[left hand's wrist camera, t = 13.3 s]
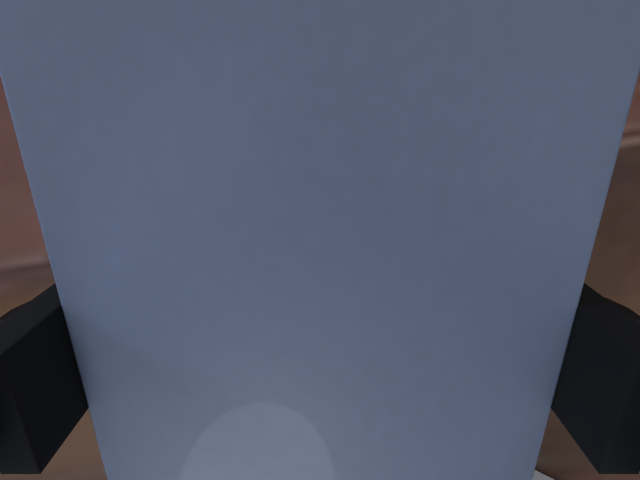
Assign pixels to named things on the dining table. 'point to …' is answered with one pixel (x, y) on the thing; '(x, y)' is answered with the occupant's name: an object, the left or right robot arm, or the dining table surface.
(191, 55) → the cabinet
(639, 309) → the dining table surface
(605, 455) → the left robot arm
